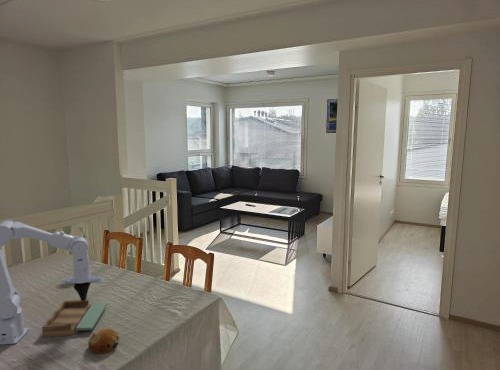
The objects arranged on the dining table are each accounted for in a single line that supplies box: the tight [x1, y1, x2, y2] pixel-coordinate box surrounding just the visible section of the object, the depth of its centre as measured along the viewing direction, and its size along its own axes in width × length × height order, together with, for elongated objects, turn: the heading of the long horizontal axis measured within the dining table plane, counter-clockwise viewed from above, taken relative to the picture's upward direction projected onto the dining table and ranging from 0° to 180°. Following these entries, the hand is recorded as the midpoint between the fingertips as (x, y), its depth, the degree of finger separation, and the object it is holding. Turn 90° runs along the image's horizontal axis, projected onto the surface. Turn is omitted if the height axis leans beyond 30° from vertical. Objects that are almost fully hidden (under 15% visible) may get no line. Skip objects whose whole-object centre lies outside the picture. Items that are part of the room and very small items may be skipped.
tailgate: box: [76, 302, 108, 331], centre depth 141 cm, size 19×2×6 cm
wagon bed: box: [41, 299, 92, 338], centre depth 140 cm, size 20×11×4 cm, turn 6°
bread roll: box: [87, 327, 120, 355], centre depth 125 cm, size 10×10×8 cm
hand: (83, 299), depth 139 cm, fingers closed
